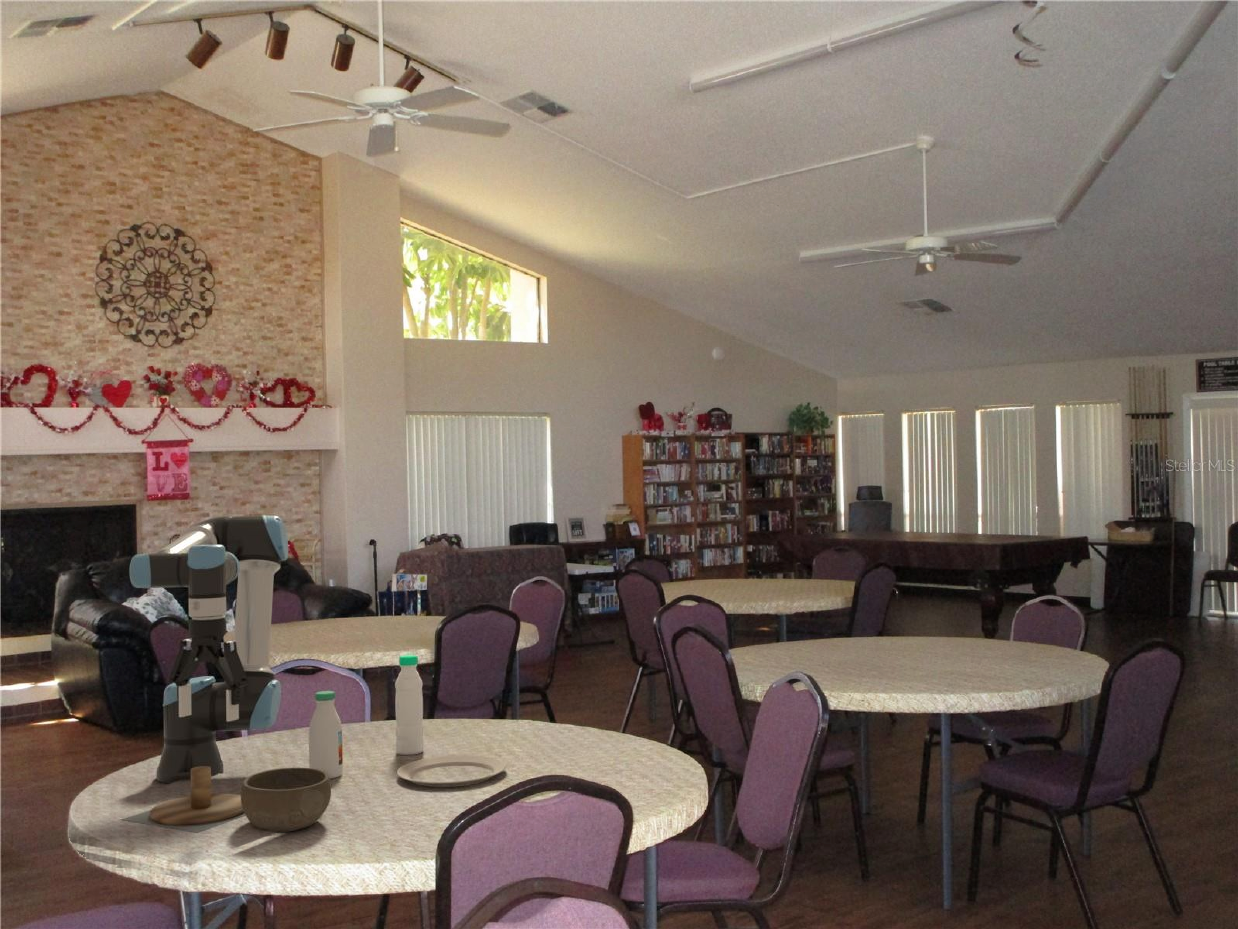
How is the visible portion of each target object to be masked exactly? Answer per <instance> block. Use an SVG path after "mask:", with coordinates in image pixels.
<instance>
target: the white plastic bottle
mask: <svg viewBox="0 0 1238 929" xmlns="http://www.w3.org/2000/svg"><path fill="white" fill-rule="evenodd" d="M418 659H419V658H418V656H417V655H414V654H405V655H402V656H400V657H399V659H398V664H399V667H400V672H399V673H398V676H397V678H396V681H395V682H394V688H395V700H394V701H395V703H394V705H395V723H396V727H395V737H396V741H395V751H396V753H397V754H398V755H400V756H413V755H417V754H421V753H422V752H424V749H425V748H424V747H425V746H424V737H423V736H424V725H423V719H424V718H423V717H424V698H423V680H422V678H421V676H420V673H419V672H418V670H417V666H418V662H419V661H418Z"/></svg>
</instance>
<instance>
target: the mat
mask: <svg viewBox="0 0 1238 929" xmlns="http://www.w3.org/2000/svg"><path fill="white" fill-rule="evenodd" d="M150 811H151V809H149V810H146V811H143V812H140V813H137V814H134V815H130V816H128V817H125V818H124V817H123V818H122V819H120V820H121V821H126V822H132V823H137V824H142V825H148V826H154V827H160V828H165V829H171V830H177V831H184V832H189V833H195V834H198V833H202V832H203V831H206V830H209V829H212V828H215V827H218V826H220V825H223V824H225V823H228V822H231V821H234V820H237V819H240V818H243V817H246V815H245V813H244V814H241V815H239V816H237V817H234V818H231V819H227V820H223V821H219V822H214V823H208V824H200V825H187V826H172V825H163V824H158V823H155V822H153V821H151V820H150Z"/></svg>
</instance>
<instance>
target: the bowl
mask: <svg viewBox="0 0 1238 929" xmlns="http://www.w3.org/2000/svg"><path fill="white" fill-rule="evenodd" d="M240 795H241V804H242V808H243V811H244V813H245V815H246V816H245V817H246V818H247V820H248V821H249V822H250V823H251V824H252V825H253V826H254V827H256V828H257V829H260V830H264V831H270V832H272V831H273V832H275V833H287V832H293V831H299V830H302V829H304V828H308V827H310V826H312V825H314V824H315V823H316V822H317V821H319V819H320V818H321V817H322V816H323V815H324V813H325V812H326V810H327V809H328V807H329V804H330V802H331V797H332V796H331V795H332V785H331V779H330V778H329V775H328V773H326V772H325V771H323V770H319V769H313V768H309V767H282V768H273V769H268V770H263V771H261V772H257V773H254V774H251V775H249V776H248V777H246V778H245V779H243V781H242V786H241V790H240Z"/></svg>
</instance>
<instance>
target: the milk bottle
mask: <svg viewBox="0 0 1238 929" xmlns="http://www.w3.org/2000/svg"><path fill="white" fill-rule="evenodd" d="M335 698H336V694H335V691H334V690H333V691H332V690H323V691H318V692H315V694H314V700H315V701H314V702H315V709H314V712H313V715H312V718H311V719H310V724H309V727H308V728H309V729H308V760H309V762H308V763H309V764H308V768H313V769H319V770H323V771H325V772H326V773H328V775H329V778H330V780H331V779H335V778H339V777H341V776H342V775H343V770H344V769H343V767H344V766H343V764H344V763H343V759H344V758H343V755H344V754H343V729H342V728H343V727H342V722H341V718H340V716H339V714H338V713H337V710H336V706H335V700H336V699H335Z"/></svg>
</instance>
